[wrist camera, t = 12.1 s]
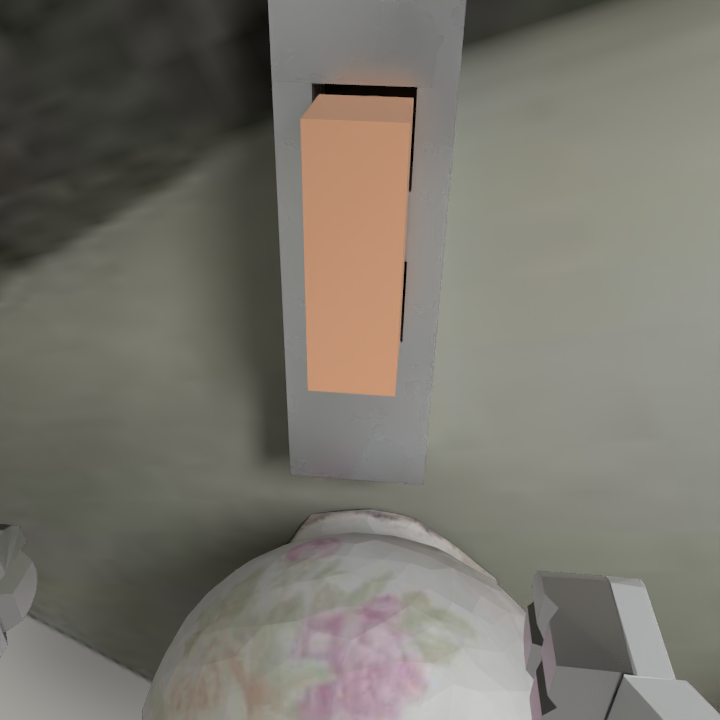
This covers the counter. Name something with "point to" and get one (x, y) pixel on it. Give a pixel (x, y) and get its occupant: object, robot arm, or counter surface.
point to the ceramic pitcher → (350, 633)
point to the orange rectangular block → (355, 239)
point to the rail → (424, 217)
